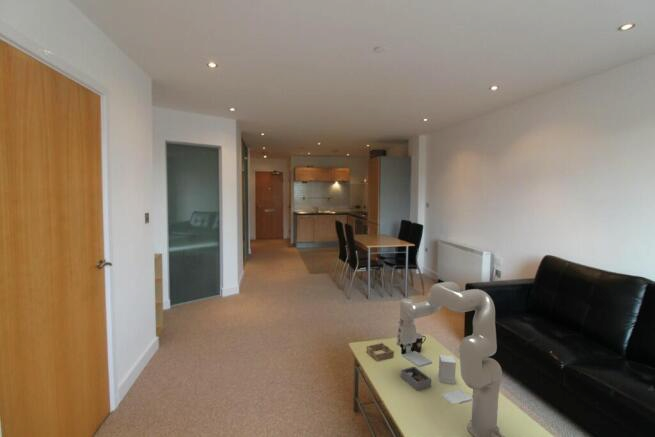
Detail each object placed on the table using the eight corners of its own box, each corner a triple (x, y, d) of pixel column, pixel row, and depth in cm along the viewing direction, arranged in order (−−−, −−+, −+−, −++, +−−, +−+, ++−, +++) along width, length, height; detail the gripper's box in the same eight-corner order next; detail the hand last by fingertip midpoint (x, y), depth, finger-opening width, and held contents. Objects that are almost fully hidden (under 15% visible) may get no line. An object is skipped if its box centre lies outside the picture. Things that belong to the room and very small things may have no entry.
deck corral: (393, 357, 193) (393, 351, 192) (377, 361, 188) (377, 355, 187) (382, 348, 204) (382, 342, 203) (366, 352, 199) (366, 346, 198)
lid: (432, 363, 161) (432, 355, 160) (418, 367, 157) (418, 358, 157) (410, 349, 176) (410, 342, 176) (397, 353, 172) (397, 345, 172)
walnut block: (425, 385, 162) (425, 378, 162) (420, 388, 160) (420, 381, 160) (419, 382, 166) (419, 374, 165) (414, 384, 163) (414, 377, 163)
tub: (430, 388, 162) (431, 378, 162) (417, 392, 158) (417, 383, 158) (413, 375, 174) (414, 366, 173) (400, 378, 170) (401, 370, 169)
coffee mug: (410, 353, 198) (410, 338, 197) (407, 347, 207) (407, 332, 206) (428, 354, 198) (429, 338, 197) (424, 347, 206) (425, 332, 206)
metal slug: (413, 379, 168) (414, 373, 168) (409, 381, 167) (409, 374, 166) (410, 376, 170) (410, 370, 170) (405, 378, 169) (405, 371, 169)
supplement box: (455, 386, 164) (456, 362, 163) (440, 384, 166) (441, 361, 165) (452, 378, 171) (453, 356, 171) (438, 376, 173) (439, 354, 172)
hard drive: (459, 389, 160) (440, 393, 156) (472, 398, 152) (451, 404, 148) (459, 392, 160) (439, 397, 156) (471, 401, 152) (451, 407, 148)
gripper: (399, 326, 165) (398, 360, 166) (423, 322, 172) (422, 354, 173) (390, 321, 172) (390, 354, 172) (413, 317, 178) (413, 348, 179)
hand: (406, 354), depth 172 cm, fingers closed on lid, 3 cm apart
